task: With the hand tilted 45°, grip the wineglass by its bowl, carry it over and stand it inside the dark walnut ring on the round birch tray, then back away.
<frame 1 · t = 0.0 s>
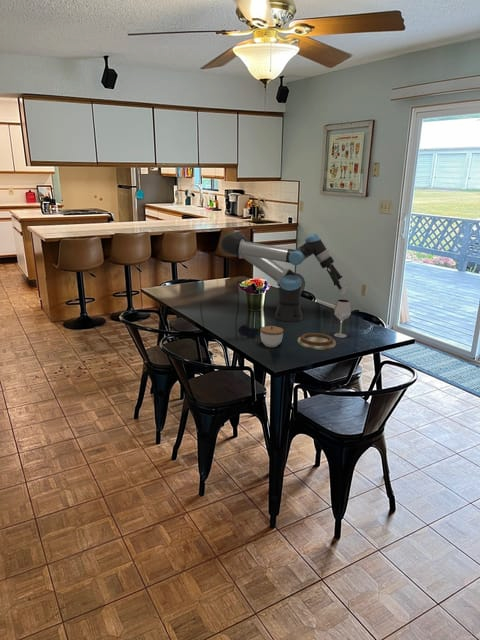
hand: (344, 291, 268), 15 cm above the table, tool tilted 35°, fingers open, 13 cm apart
ring tray: (316, 343, 227), on the table
lidded jar: (271, 345, 223), on the table
wineglass: (340, 336, 240), on the table
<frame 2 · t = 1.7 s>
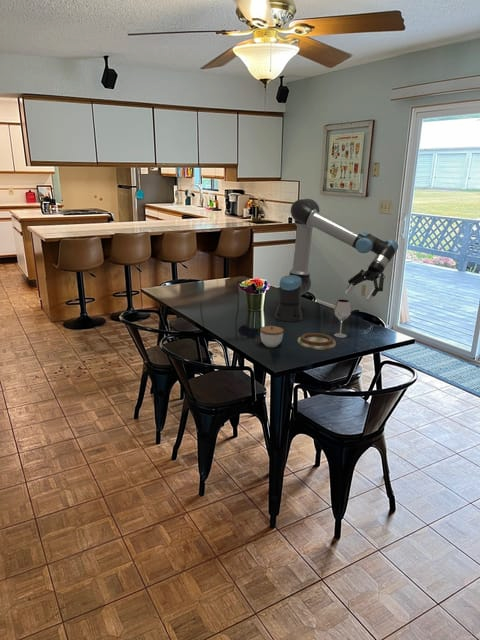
hand: (357, 297, 241), 18 cm above the table, tool tilted 45°, fingers open, 13 cm apart
nothing on the table moved.
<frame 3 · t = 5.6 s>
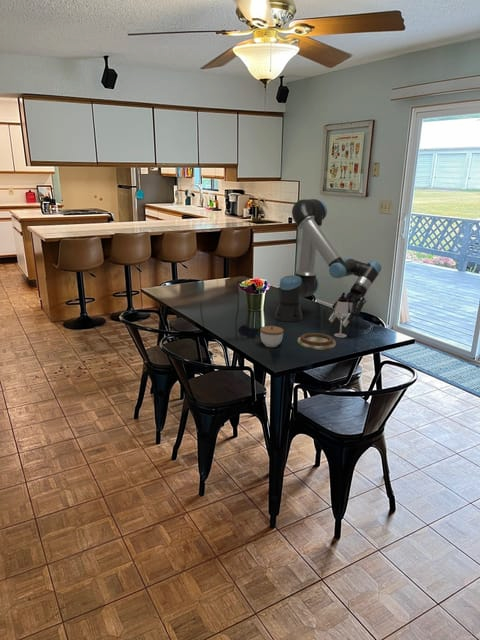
hand: (337, 323, 236), 7 cm above the table, tool tilted 45°, fingers closed on wineglass, 8 cm apart
wineglass: (340, 336, 240), on the table, touching gripper
everything else where it was.
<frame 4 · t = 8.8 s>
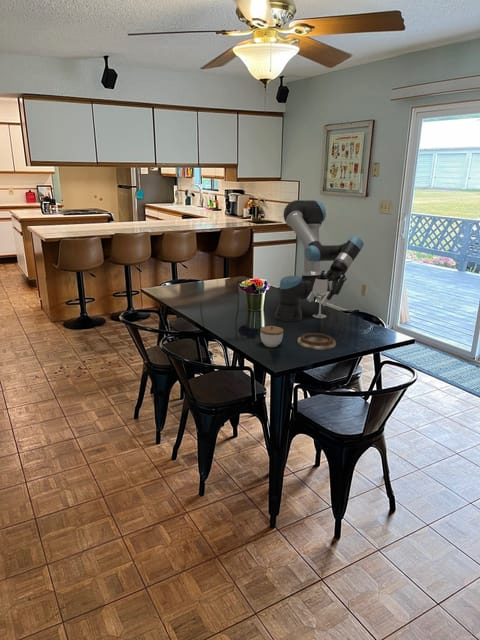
hand: (315, 302, 220), 20 cm above the table, tool tilted 45°, fingers closed on wineglass, 8 cm apart
wineglass: (319, 316, 224), point 13 cm above the table, touching gripper
everything else where it was.
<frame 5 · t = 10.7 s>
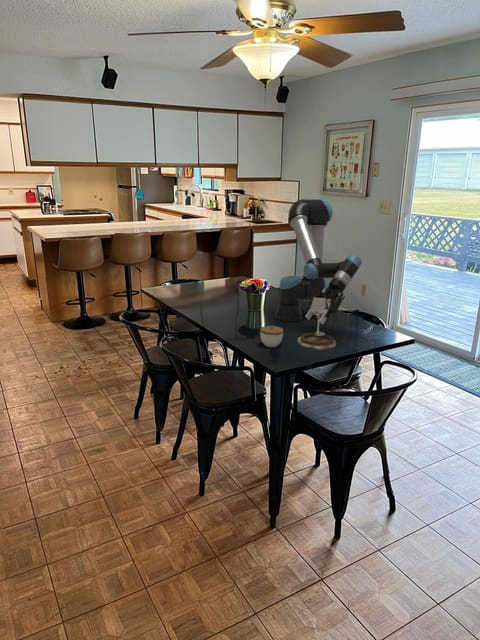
hand: (313, 320, 222), 12 cm above the table, tool tilted 45°, fingers closed on wineglass, 8 cm apart
wineglass: (317, 334, 226), point 5 cm above the table, touching gripper
everything else where it was.
when the fingers open (10 cm above the table, at t = 12.1 s): wineglass drops 1 cm, resting on ring tray.
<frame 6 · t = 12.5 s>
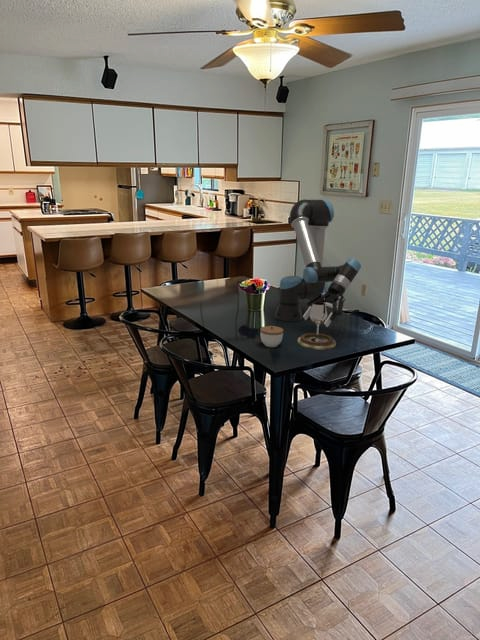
hand: (314, 321, 223), 11 cm above the table, tool tilted 45°, fingers open, 13 cm apart
wineglass: (317, 340, 227), point 1 cm above the table, touching ring tray
everything else where it was.
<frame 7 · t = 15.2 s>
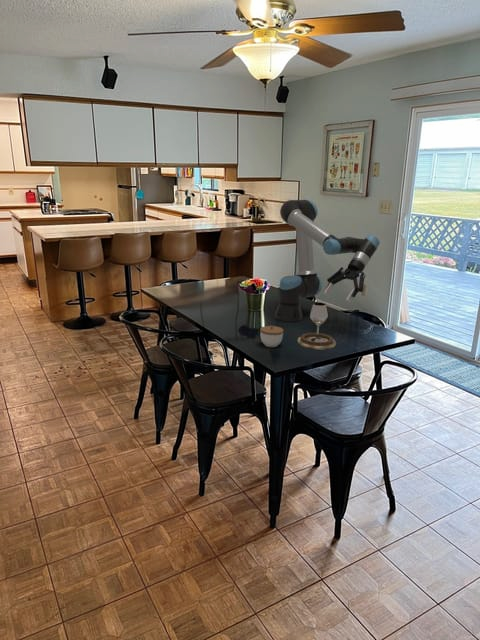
hand: (336, 298, 229), 20 cm above the table, tool tilted 40°, fingers open, 13 cm apart
nothing on the table moved.
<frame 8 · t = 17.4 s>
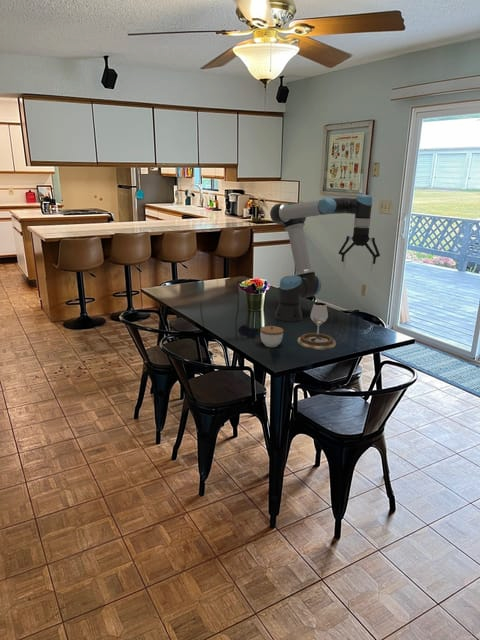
hand: (357, 269, 243), 32 cm above the table, tool pointing down, fingers open, 13 cm apart
nothing on the table moved.
at the end: wineglass 0.3 cm from the ring tray (horizontally); wineglass tilted 1°; the gripper is holding nothing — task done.
